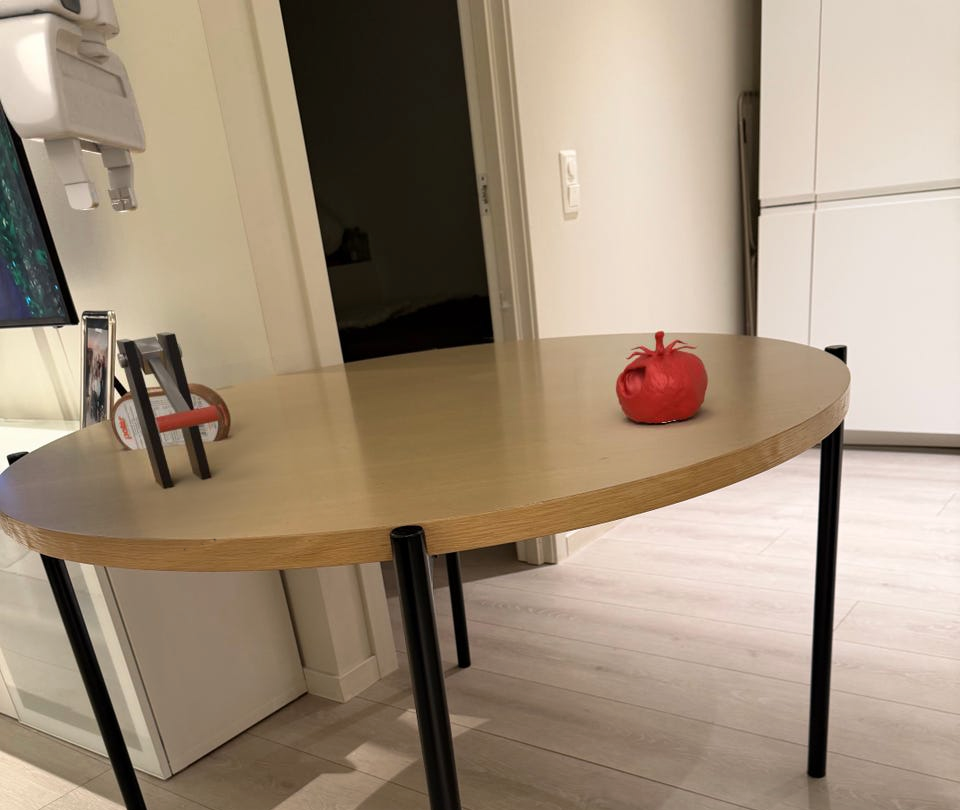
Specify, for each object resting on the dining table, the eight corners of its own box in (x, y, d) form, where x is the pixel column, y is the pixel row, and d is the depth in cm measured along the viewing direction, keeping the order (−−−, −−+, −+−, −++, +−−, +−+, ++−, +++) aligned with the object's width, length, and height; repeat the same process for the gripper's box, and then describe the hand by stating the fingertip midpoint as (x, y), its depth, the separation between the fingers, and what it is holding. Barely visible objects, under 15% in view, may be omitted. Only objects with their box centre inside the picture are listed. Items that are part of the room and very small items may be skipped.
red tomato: (704, 404, 102) (703, 319, 98) (712, 423, 94) (711, 331, 90) (618, 412, 104) (613, 329, 100) (617, 431, 95) (612, 341, 91)
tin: (238, 445, 114) (222, 378, 111) (229, 451, 112) (213, 382, 108) (129, 456, 117) (110, 390, 113) (118, 462, 114) (98, 395, 110)
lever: (220, 428, 84) (217, 405, 82) (161, 440, 81) (157, 418, 80) (175, 355, 92) (171, 333, 90) (120, 364, 89) (115, 342, 88)
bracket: (235, 491, 92) (196, 332, 86) (157, 509, 89) (111, 346, 82) (212, 475, 100) (175, 328, 94) (140, 491, 97) (96, 341, 90)
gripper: (66, 41, 77) (113, 216, 83) (-55, -18, 59) (16, 213, 64) (138, 31, 77) (179, 207, 83) (38, -31, 58) (101, 202, 64)
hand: (107, 210), depth 73 cm, fingers open, 8 cm apart
